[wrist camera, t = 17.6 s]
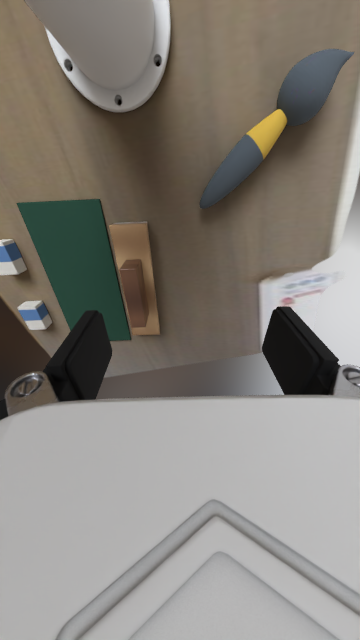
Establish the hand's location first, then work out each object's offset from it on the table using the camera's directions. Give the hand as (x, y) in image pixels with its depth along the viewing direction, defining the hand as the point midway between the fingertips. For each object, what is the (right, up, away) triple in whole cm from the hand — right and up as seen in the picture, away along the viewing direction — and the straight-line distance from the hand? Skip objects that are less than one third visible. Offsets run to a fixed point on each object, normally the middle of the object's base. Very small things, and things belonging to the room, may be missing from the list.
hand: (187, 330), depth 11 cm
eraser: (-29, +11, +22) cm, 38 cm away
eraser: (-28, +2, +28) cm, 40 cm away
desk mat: (-18, +7, +25) cm, 31 cm away
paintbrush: (+10, +23, +15) cm, 29 cm away
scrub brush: (-8, +7, +25) cm, 27 cm away
